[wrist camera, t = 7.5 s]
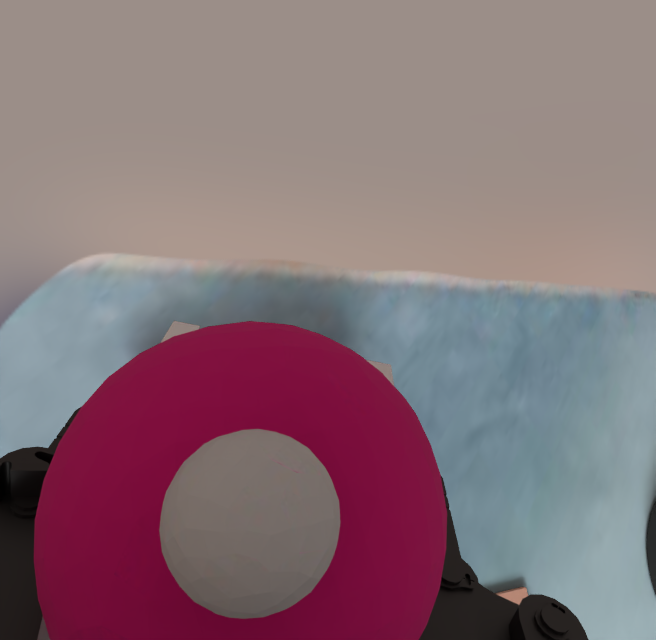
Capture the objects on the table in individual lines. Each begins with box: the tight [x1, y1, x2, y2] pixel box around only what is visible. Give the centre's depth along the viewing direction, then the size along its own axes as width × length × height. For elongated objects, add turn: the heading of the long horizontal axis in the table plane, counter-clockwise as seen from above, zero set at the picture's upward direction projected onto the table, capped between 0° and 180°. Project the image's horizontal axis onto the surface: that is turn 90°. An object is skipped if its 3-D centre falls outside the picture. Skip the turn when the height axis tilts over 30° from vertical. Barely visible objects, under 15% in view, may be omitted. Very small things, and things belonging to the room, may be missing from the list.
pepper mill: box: [34, 321, 447, 640], centre depth 14 cm, size 7×7×20 cm
